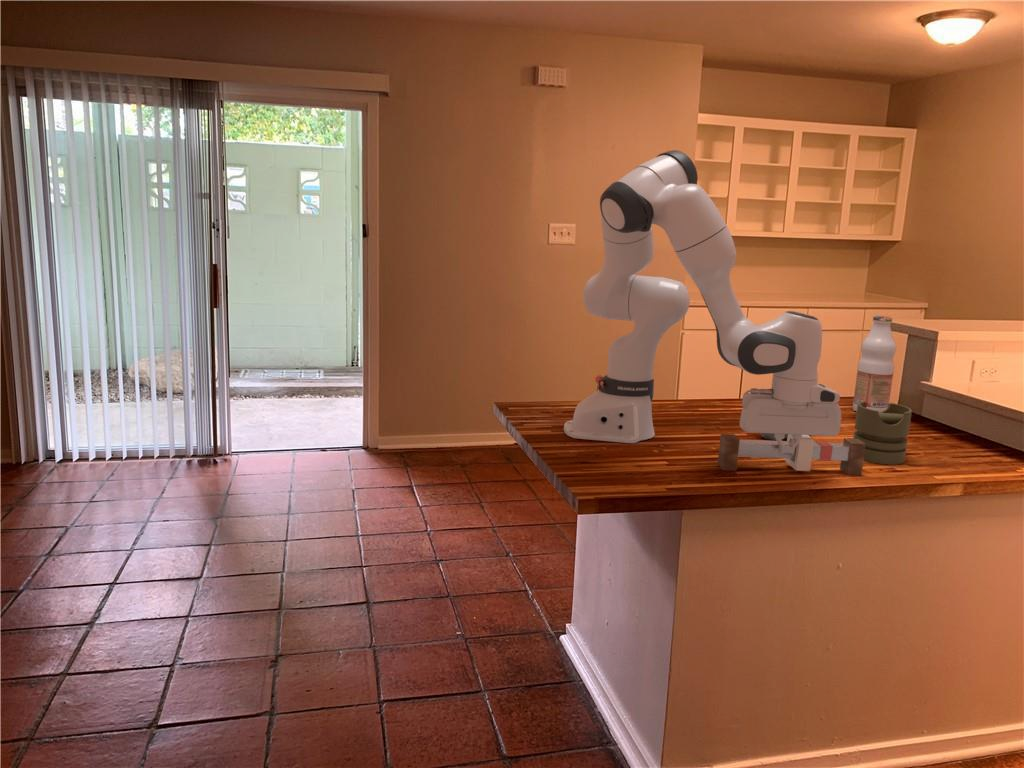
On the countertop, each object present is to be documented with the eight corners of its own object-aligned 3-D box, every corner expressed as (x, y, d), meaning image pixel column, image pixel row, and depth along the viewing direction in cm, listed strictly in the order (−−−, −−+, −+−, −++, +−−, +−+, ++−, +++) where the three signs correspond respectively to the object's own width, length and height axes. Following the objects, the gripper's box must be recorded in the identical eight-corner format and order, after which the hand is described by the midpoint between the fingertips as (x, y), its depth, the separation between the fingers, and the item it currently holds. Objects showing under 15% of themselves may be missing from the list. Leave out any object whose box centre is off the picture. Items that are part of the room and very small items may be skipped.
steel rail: (728, 457, 166) (729, 442, 166) (723, 452, 169) (725, 438, 169) (857, 461, 166) (859, 447, 166) (851, 457, 170) (853, 442, 169)
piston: (851, 399, 184) (901, 402, 183) (845, 448, 187) (894, 451, 185) (866, 411, 173) (919, 414, 172) (859, 462, 176) (912, 466, 174)
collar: (796, 470, 165) (799, 438, 163) (784, 460, 172) (788, 430, 170) (810, 471, 165) (814, 439, 163) (798, 460, 172) (801, 430, 170)
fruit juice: (846, 411, 226) (859, 315, 220) (859, 406, 232) (872, 313, 226) (879, 417, 219) (893, 319, 213) (892, 413, 226) (906, 317, 220)
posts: (722, 470, 166) (725, 438, 165) (717, 464, 170) (720, 433, 169) (861, 475, 167) (865, 444, 165) (853, 469, 171) (857, 438, 169)
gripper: (748, 391, 158) (741, 456, 161) (848, 395, 158) (839, 460, 161) (739, 384, 164) (732, 447, 167) (835, 388, 164) (827, 451, 167)
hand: (786, 453), depth 164 cm, fingers closed
